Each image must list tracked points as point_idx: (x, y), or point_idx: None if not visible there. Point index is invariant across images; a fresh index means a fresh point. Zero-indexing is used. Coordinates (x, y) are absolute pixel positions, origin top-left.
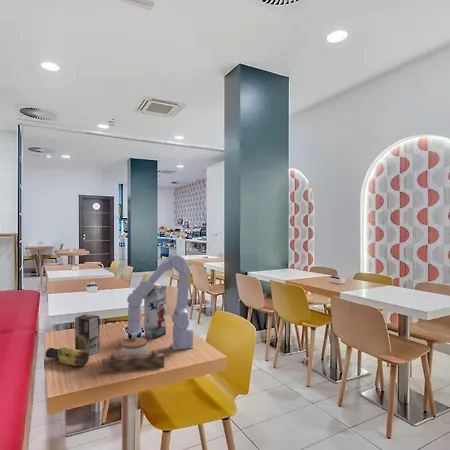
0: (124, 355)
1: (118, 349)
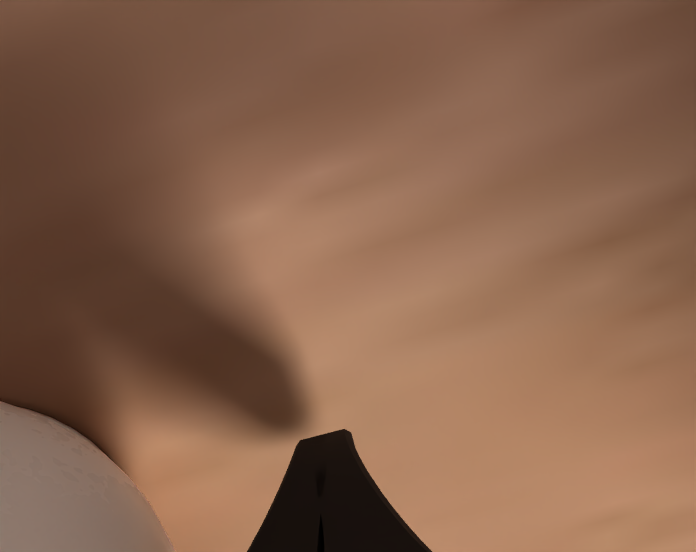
0: None
1: (562, 13)
